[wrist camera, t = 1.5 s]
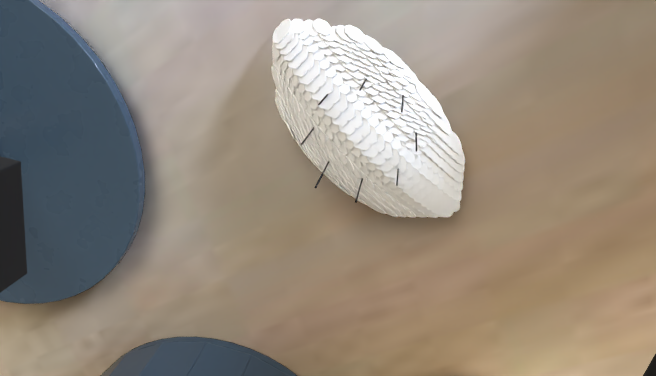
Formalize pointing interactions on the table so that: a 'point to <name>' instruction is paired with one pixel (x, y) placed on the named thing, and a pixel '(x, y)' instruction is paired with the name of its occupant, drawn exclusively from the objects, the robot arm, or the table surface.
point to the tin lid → (66, 154)
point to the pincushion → (366, 120)
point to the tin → (195, 360)
